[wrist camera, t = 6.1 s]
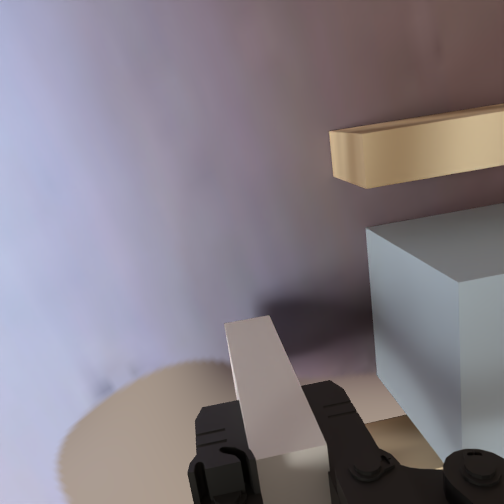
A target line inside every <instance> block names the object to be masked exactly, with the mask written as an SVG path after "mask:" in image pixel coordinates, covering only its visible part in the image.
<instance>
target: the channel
mask: <svg viewBox="0 0 504 504" xmlns="http://www.w3.org/2000/svg"><path fill="white" fill-rule="evenodd" d="M329 136H330V146H331V157H332V167H333V176H334V177H336V178H339V179H341V180H344V181H347V182H349V183H352V184H355V185H357V186H360V187H363V188H365V189H368V188H374V187H380V186H385V185H391V184H397V183H403V182H409V181H414V180H420V179H426V178H432V177H438V176H443V175H449V174H455V173H461V172H466V171H472V170H478V169H484V168H490V167H495V166H501V165H504V103H503V104H497V105H491V106H484V107H478V108H472V109H466V110H459V111H453V112H447V113H440V114H434V115H428V116H422V117H415V118H409V119H403V120H397V121H390V122H384V123H378V124H372V125H365V126H359V127H353V128H346V129H340V130H334V131H329ZM365 426H366V427H367V429H368V431H369V432H370V434H371V436H372V437H373V439H374V441H375V442H376V444H377V446H378V447H379V449H382V450H384V451H386V452H388V453H390V454H392V455H393V456H394V457H395V458H396V459H397V461H398V462H399V463H400V465H404V466H407V467H411V468H419V469H443V464H444V463H443V461H442V460H441V459H440V457H439V456H438V455H437V454H436V452H435V451H434V450H433V448H432V447H431V446H430V444H429V443H428V442H427V440H426V439H425V438H424V437H423V435H422V434H421V433H420V431H419V430H418V429H417V427H416V426H415V425H414V423H413V422H412V421H411V419H410V418H409V417H408V416H407V415H403V416H398V417H394V418H389V419H385V420H380V421H376V422H371V423H367V424H365Z"/></svg>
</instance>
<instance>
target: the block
mask: <svg viewBox="0 0 504 504" xmlns="http://www.w3.org/2000/svg"><path fill="white" fill-rule="evenodd" d="M366 239H367V251H368V264H369V277H370V290H371V302H372V315H373V328H374V340H375V353H376V366H377V373H376V375H377V376H378V378H379V379H380V380H381V381H382V383H383V384H384V385H385V387H386V388H387V389H388V391H389V392H390V393H391V394H392V396H393V397H394V398H395V400H396V401H397V402H398V404H399V405H400V406H401V408H402V409H403V410H404V412H405V413H406V414H407V416H408V417H409V418H410V419H411V421H412V422H413V423H414V425H415V426H416V427H417V429H418V430H419V431H420V433H421V434H422V435H423V437H424V438H425V439H426V440H427V442H428V443H429V444H430V446H431V447H432V448H433V450H434V451H435V452H436V454H437V455H438V456H439V457H440V459H441V460H442V461H443V463H444V462H445V459H446V457H448V456H449V455H450V454H452V453H453V452H455V451H458V450H462V449H481V450H485V451H489V452H492V453H495V454H497V455H498V456H500V457H502V458H504V203H500V204H494V205H489V206H483V207H478V208H472V209H467V210H461V211H456V212H450V213H445V214H439V215H434V216H428V217H423V218H417V219H412V220H406V221H400V222H395V223H389V224H384V225H378V226H373V227H367V228H366Z"/></svg>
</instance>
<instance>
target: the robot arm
mask: <svg viewBox="0 0 504 504" xmlns="http://www.w3.org/2000/svg"><path fill="white" fill-rule="evenodd" d="M224 325H225V331H226V337H227V343H228V349H229V355H230V361H231V367H232V373H233V379H234V384H235V391H236V396H237V400H236V401H232V402H227V403H222V404H217V405H212V406H207V407H202V409H201V411H200V413H199V415H198V416H197V418H196V420H195V429H196V452H197V455H196V456H195V457H194V459H193V460H192V461H191V463H190V465H189V469H188V478H189V482H190V487H191V492H192V497H193V501H194V504H504V458H502V457H500V456H498V455H497V454H495V453H492V452H489V451H485V450H481V449H462V450H458V451H455V452H453V453H452V454H450V455H449V456H448V457H446V459H445V462H444V464H443V469H419V468H411V467H407V466H404V465H400V463H399V462H398V461H397V459H396V458H395V457H394V456H393V455H392V454H390V453H388V452H386V451H384V450H382V449H379V447H378V446H377V444H376V442H375V441H374V439H373V437H372V436H371V434H370V432H369V431H368V429H367V427H366V426H365V424H364V423H363V421H362V419H361V417H360V416H359V414H358V413H357V412H356V409H355V407H354V406H353V404H352V403H351V401H350V399H349V397H348V396H347V394H346V392H345V391H344V389H343V388H341V387H340V386H338V385H336V384H335V383H333V382H332V381H330V380H328V381H323V382H318V383H313V384H309V385H304V386H301V385H300V383H299V381H298V379H297V376H296V374H295V372H294V370H293V367H292V365H291V363H290V361H289V358H288V356H287V354H286V352H285V350H284V347H283V345H282V343H281V341H280V338H279V336H278V334H277V332H276V329H275V327H274V325H273V323H272V320H271V318H270V316H269V315H267V316H262V317H257V318H251V319H246V320H240V321H235V322H230V323H224Z"/></svg>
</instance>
